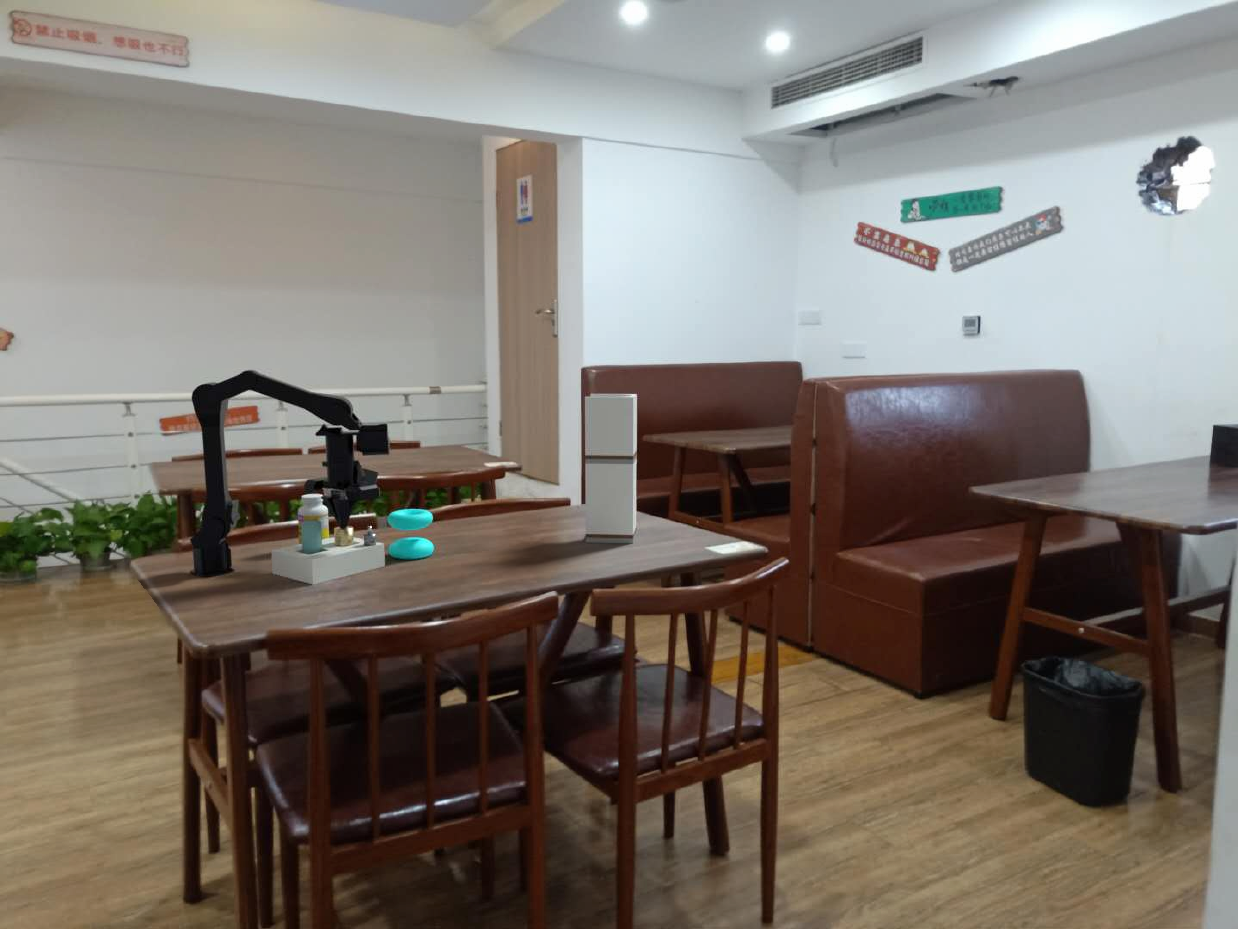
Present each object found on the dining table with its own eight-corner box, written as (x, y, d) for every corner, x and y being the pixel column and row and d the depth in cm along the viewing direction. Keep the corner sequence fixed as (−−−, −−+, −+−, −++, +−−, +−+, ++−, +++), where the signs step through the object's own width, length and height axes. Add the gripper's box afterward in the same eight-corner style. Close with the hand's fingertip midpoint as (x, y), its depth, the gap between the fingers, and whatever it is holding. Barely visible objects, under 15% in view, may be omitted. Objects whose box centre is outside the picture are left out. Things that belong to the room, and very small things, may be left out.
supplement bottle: (293, 551, 210) (290, 496, 208) (315, 545, 216) (312, 492, 214) (314, 554, 207) (311, 499, 205) (335, 548, 213) (333, 494, 211)
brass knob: (343, 563, 194) (341, 531, 193) (331, 560, 196) (330, 528, 195) (358, 559, 197) (357, 527, 196) (346, 556, 199) (345, 525, 198)
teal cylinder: (310, 558, 187) (308, 525, 186) (298, 555, 189) (296, 522, 188) (326, 554, 190) (325, 522, 189) (315, 552, 193) (313, 519, 192)
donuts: (378, 515, 201) (401, 506, 211) (380, 559, 203) (402, 549, 212) (419, 517, 199) (440, 509, 208) (420, 562, 200) (441, 551, 210)
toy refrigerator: (636, 533, 228) (636, 394, 223) (633, 543, 218) (633, 397, 213) (591, 532, 229) (590, 393, 224) (585, 542, 219) (584, 396, 214)
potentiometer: (369, 546, 193) (368, 528, 192) (361, 545, 195) (360, 526, 194) (378, 544, 195) (378, 526, 194) (371, 542, 197) (370, 524, 196)
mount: (313, 584, 182) (311, 560, 182) (272, 573, 191) (271, 550, 190) (384, 566, 197) (384, 543, 196) (344, 556, 205) (343, 535, 204)
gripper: (399, 455, 194) (401, 527, 196) (344, 449, 205) (347, 516, 207) (356, 461, 185) (359, 536, 188) (301, 454, 196) (304, 525, 199)
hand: (343, 528), depth 196 cm, fingers closed, pressing on brass knob
